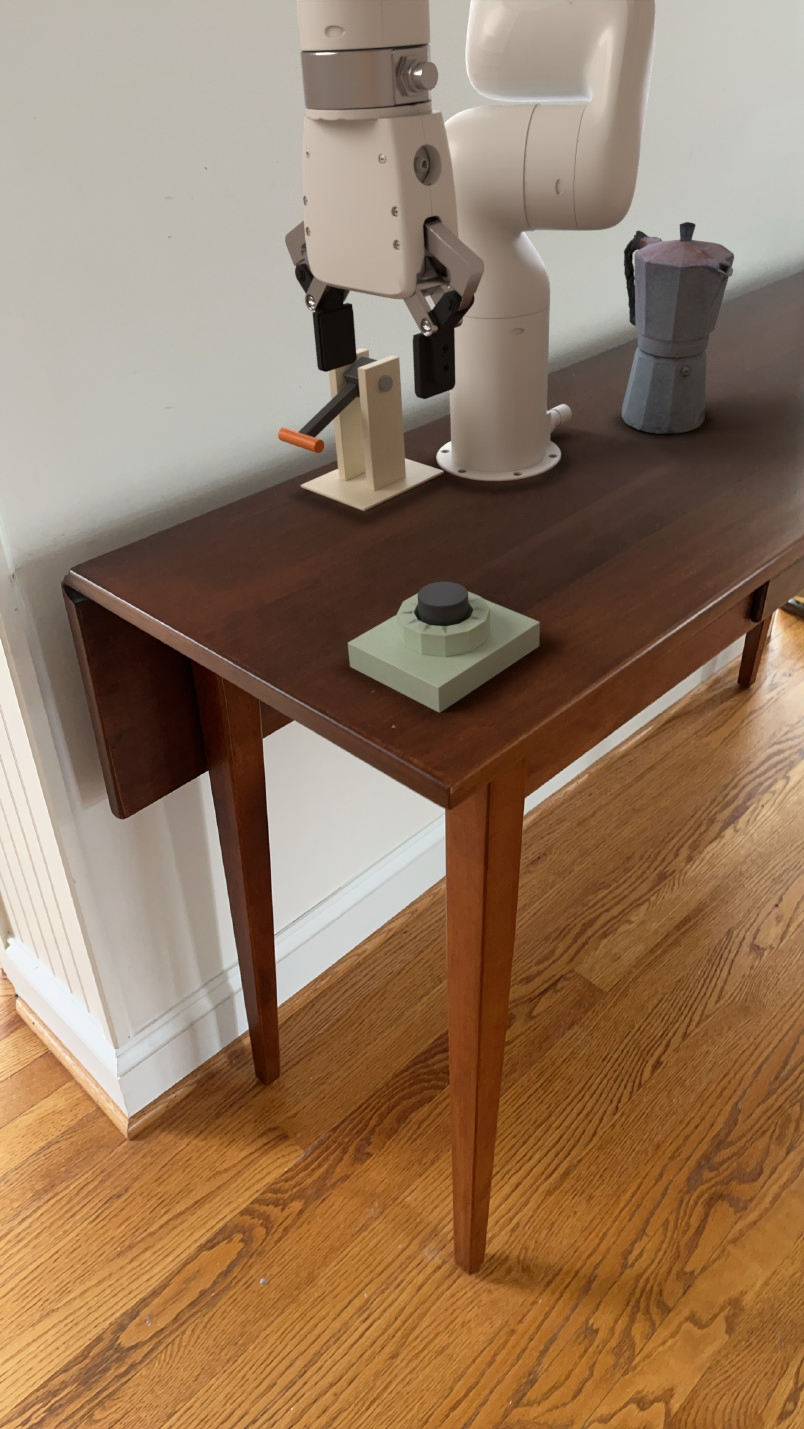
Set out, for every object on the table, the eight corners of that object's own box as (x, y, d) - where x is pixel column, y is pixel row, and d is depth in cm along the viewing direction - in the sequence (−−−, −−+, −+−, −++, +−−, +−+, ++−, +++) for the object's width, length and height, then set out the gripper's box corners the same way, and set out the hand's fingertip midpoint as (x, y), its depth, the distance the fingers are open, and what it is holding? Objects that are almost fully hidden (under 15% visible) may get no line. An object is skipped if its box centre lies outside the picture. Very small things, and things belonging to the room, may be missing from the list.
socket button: (442, 597, 76) (441, 576, 75) (478, 612, 74) (478, 591, 73) (408, 616, 74) (407, 595, 73) (445, 633, 72) (444, 611, 71)
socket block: (450, 608, 82) (448, 563, 79) (539, 647, 76) (540, 600, 74) (349, 667, 75) (345, 621, 73) (439, 714, 70) (437, 665, 68)
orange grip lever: (320, 461, 91) (309, 440, 89) (283, 448, 94) (273, 427, 92) (397, 384, 94) (389, 362, 93) (360, 374, 97) (351, 353, 96)
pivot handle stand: (365, 520, 95) (353, 384, 88) (301, 496, 101) (285, 365, 93) (444, 482, 101) (440, 351, 94) (380, 460, 107) (371, 335, 99)
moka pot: (679, 451, 104) (702, 240, 93) (578, 411, 115) (587, 217, 103) (743, 428, 108) (773, 222, 97) (640, 391, 119) (656, 202, 107)
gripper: (522, 81, 57) (517, 390, 66) (320, 79, 67) (342, 346, 77) (427, 93, 53) (436, 421, 62) (228, 89, 63) (263, 370, 73)
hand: (384, 379), depth 70 cm, fingers open, 9 cm apart
